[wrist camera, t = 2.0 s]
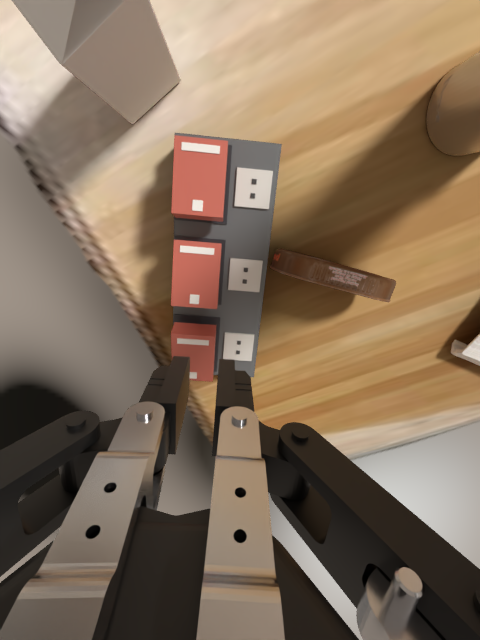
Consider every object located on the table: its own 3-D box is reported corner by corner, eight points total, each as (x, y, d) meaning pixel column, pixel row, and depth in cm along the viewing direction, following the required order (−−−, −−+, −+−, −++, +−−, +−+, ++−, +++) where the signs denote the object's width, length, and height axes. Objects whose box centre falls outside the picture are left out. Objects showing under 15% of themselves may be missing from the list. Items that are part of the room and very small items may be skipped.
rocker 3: (216, 324, 35) (215, 337, 33) (213, 368, 39) (212, 382, 37) (174, 322, 35) (170, 334, 33) (176, 366, 39) (172, 379, 37)
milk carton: (132, 125, 33) (19, 30, 15) (85, 61, 31) (-110, -137, 13) (181, 81, 32) (120, -80, 14) (136, 10, 30) (-6, -286, 12)
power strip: (276, 151, 34) (282, 142, 30) (251, 362, 44) (254, 379, 40) (180, 140, 34) (173, 130, 29) (177, 358, 44) (171, 375, 39)
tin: (265, 264, 39) (273, 278, 31) (272, 240, 38) (283, 249, 30) (368, 292, 41) (401, 312, 33) (378, 270, 40) (414, 285, 32)
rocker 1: (227, 151, 30) (228, 140, 28) (222, 221, 31) (222, 217, 29) (178, 146, 30) (174, 134, 28) (175, 217, 31) (171, 212, 29)
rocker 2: (221, 245, 34) (221, 243, 31) (217, 306, 35) (217, 309, 32) (177, 242, 33) (173, 239, 31) (174, 303, 34) (170, 305, 32)
